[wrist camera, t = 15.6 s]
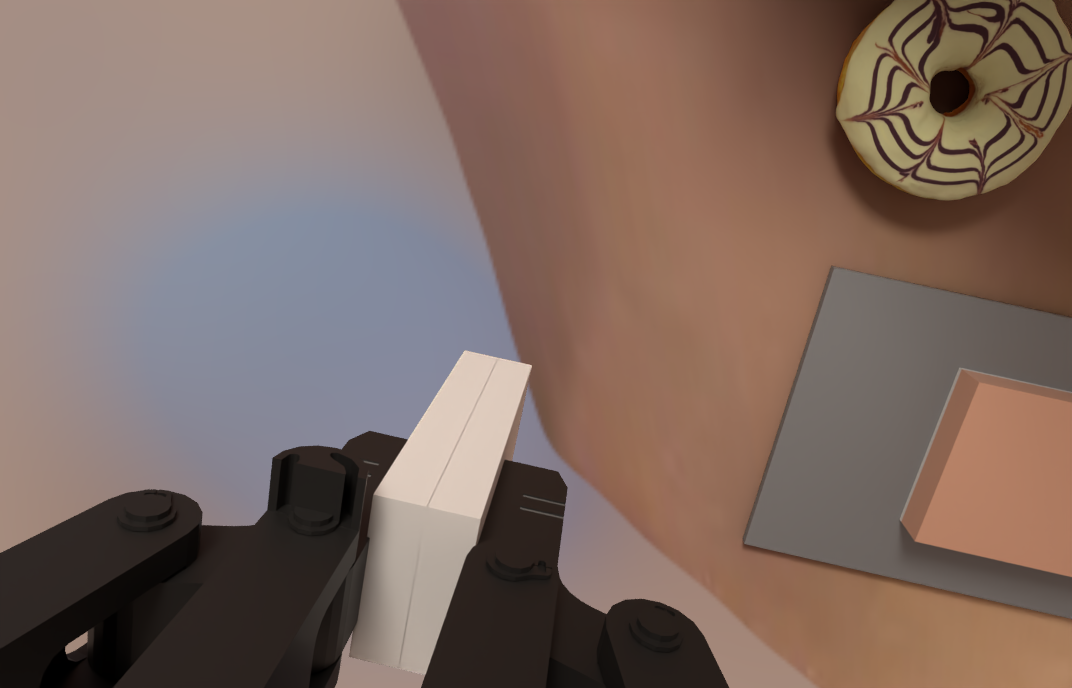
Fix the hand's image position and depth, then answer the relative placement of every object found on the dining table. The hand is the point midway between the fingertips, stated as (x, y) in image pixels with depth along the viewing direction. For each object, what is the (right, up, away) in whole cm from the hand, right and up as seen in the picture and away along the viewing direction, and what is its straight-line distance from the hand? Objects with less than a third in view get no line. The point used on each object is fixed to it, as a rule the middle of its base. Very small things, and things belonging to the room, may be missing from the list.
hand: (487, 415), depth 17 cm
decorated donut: (+22, +15, +23) cm, 35 cm away
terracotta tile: (+24, -5, +27) cm, 36 cm away
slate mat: (+28, -5, +28) cm, 40 cm away
